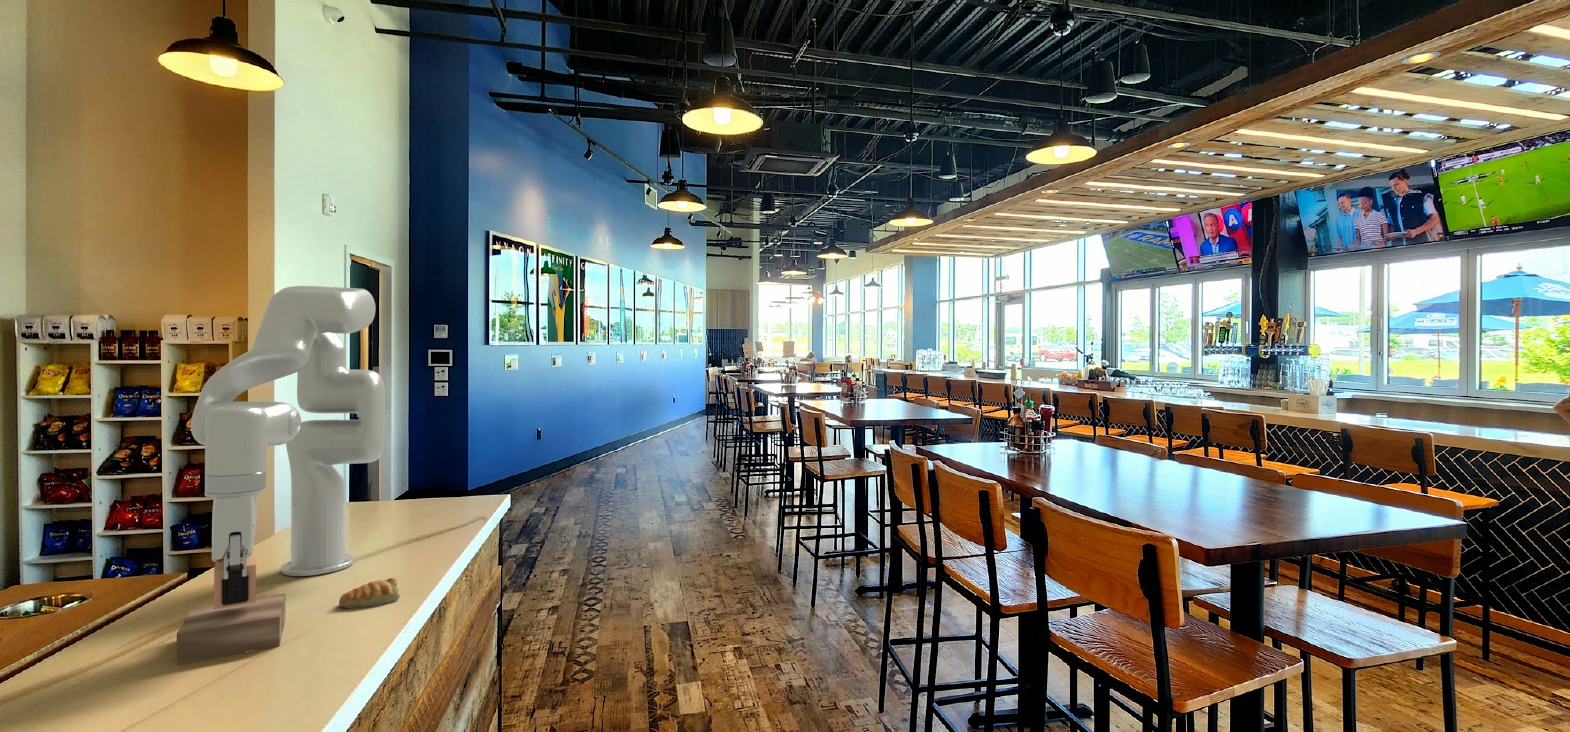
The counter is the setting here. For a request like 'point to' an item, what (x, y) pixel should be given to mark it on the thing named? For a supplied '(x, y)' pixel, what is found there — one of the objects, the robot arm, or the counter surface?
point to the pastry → (371, 594)
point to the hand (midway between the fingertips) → (235, 596)
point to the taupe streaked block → (231, 629)
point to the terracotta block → (220, 575)
